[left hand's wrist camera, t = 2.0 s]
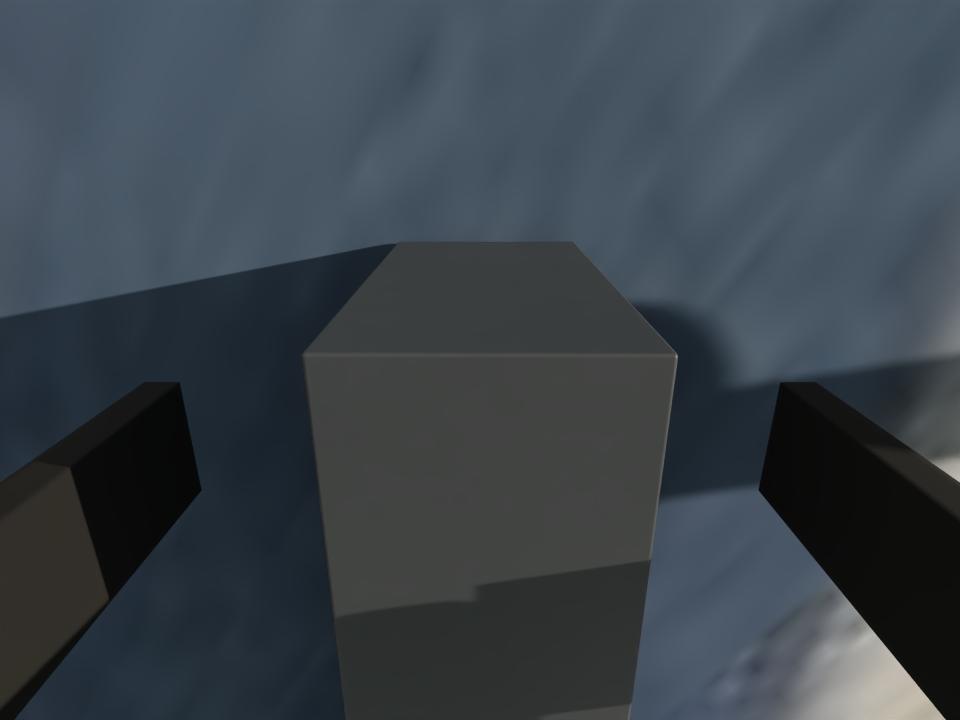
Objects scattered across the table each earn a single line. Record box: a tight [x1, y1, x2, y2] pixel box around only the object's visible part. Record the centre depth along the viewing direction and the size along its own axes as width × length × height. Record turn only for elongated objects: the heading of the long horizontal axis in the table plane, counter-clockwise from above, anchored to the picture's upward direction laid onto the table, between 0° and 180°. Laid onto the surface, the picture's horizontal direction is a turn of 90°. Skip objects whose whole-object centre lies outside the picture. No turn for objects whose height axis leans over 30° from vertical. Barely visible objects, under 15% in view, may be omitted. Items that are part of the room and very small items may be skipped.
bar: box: [302, 242, 678, 720], centre depth 15 cm, size 21×5×8 cm, turn 0°
